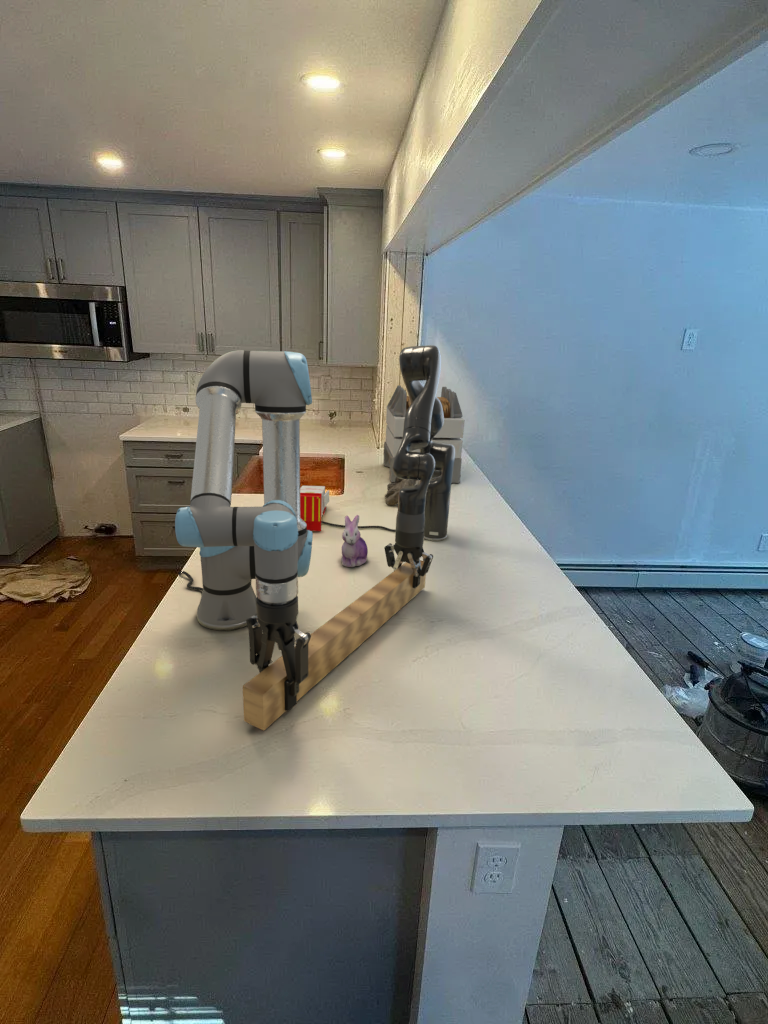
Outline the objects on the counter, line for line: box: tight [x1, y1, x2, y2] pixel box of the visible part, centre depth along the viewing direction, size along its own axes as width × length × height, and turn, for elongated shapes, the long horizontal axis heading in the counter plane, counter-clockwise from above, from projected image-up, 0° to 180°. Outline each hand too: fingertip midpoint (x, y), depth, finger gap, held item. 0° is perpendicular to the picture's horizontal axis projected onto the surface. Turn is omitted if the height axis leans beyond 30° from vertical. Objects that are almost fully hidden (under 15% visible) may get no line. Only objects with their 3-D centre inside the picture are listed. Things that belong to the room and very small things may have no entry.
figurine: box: [340, 514, 369, 568], centre depth 174 cm, size 9×10×15 cm
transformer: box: [383, 384, 465, 484], centre depth 268 cm, size 34×33×41 cm
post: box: [242, 559, 427, 732], centre depth 132 cm, size 69×5×8 cm, turn 151°
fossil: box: [384, 477, 417, 506], centre depth 235 cm, size 22×10×15 cm
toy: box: [300, 485, 330, 532], centre depth 209 cm, size 12×13×30 cm
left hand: (279, 701), depth 111 cm, fingers closed on post, 5 cm apart
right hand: (406, 584), depth 154 cm, fingers closed on post, 4 cm apart
